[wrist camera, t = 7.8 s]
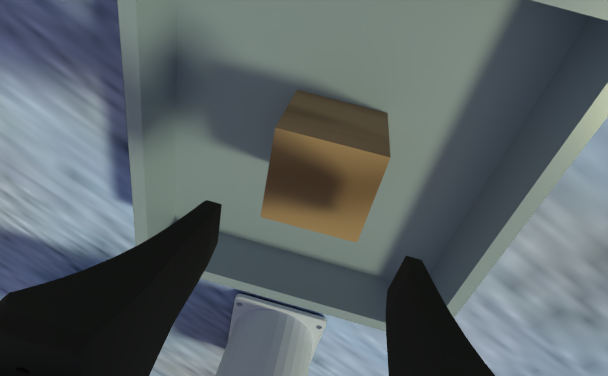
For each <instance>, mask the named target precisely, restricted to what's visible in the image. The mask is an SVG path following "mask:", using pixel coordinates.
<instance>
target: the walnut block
mask: <svg viewBox="0 0 608 376" xmlns="http://www.w3.org/2000/svg"><path fill="white" fill-rule="evenodd" d="M390 158H391V156H390V141H389V126H388V113H385V112H382V111H378V110H374V109H370V108H366V107H362V106H358V105H354V104H350V103H347V102H343V101H339V100H335V99H331V98H327V97H323V96H319V95H315V94H312V93H308V92H304V91H300V90H296V92H295V94H294V96H293V97H292V99H291V101H290V103H289V104H288V106H287V108H286V110H285V111H284V113H283V115H282V117H281V118H280V120H279V122H278V124H277V125H276V127H275V132H274V138H273V144H272V150H271V156H270V162H269V168H268V174H267V180H266V186H265V192H264V197H263V203H262V209H261V215H260V217H262V218H266V219H270V220H274V221H277V222H281V223H285V224H289V225H292V226H296V227H300V228H304V229H307V230H311V231H315V232H318V233H322V234H326V235H330V236H333V237H337V238H341V239H345V240H348V241H352V242H356V243H357V242H358V239H359V237H360V234H361V232H362V229H363V227H364V224H365V222H366V219H367V216H368V214H369V211H370V209H371V206H372V204H373V201H374V199H375V196H376V194H377V191H378V188H379V186H380V183H381V181H382V178H383V176H384V173H385V171H386V168H387V166H388V163H389V160H390Z"/></svg>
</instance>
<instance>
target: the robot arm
mask: <svg viewBox="0 0 608 376" xmlns="http://www.w3.org/2000/svg"><path fill="white" fill-rule="evenodd" d="M221 207H222V204H219V203H216V202H212V201H208V200H205V201H203V202H202V203H201V204H199V205H198V206H197V207H195V208H194V209H193V210H191V211H190V212H189V213H187V214H186V215H185V216H183V217H182V218H180V219H179V220H177V221H176V222H174V223H173V224H172V225H170V226H169V227H167V228H166V229H164V230H163V231H161V232H159V233H158V234H156V235H154V236H153V237H151V238H149V239H148V240H146V241H144V242H143V243H141V244H139V245H137V246H135V247H134V248H132V249H130V250H128V251H126V252H124V253H122V254H120V255H118V256H116V257H114V258H111V259H109V260H107V261H105V262H102V263H100V264H98V265H95V266H93V267H90V268H88V269H85V270H83V271H80V272H77V273H74V274H72V275H69V276H66V277H63V278H60V279H57V280H54V281H50V282H47V283H44V284H40V285H37V286H33V287H29V288H26V289H22V290H19V291H15V292H11V293H9V294H8V295H6V296H5V297H4V298H3V299H2V300H0V376H149V375H150V372H151V370H152V368H153V366H154V364H155V361H156V359H157V357H158V355H159V353H160V351H161V348H162V346H163V344H164V342H165V340H166V338H167V336H168V334H169V332H170V329H171V327H172V325H173V323H174V321H175V320H176V318H177V316H178V314H179V312H180V311H181V309H182V307H183V306H184V304H185V303H186V301H187V299H188V298H189V296H190V294H191V293H192V291H193V289H194V288H195V286H196V284H197V283H198V281H199V279H200V278H201V276H202V274H203V273H204V271H205V269H206V268H207V266H208V264H209V262H210V259H211V257H212V255H213V253H214V250H215V248H216V246H217V244H218V236H219V227H220V217H221ZM385 316H386V336H387V352H388V368H389V376H495V375H494V374H493V373H492V371H491V370H490V369H489V368H488V366H487V365H486V364H485V363H484V361H483V360H482V359H481V357H480V356H479V354H478V353H477V352H476V350H475V349H474V348H473V346H472V345H471V344H470V342H469V341H468V339H467V338H466V336H465V335H464V333H463V332H462V330H461V329H460V327H459V326H458V324H457V323H456V321H455V319H454V318H453V316H452V314H451V313H450V311H449V309H448V308H447V306H446V304H445V302H444V301H443V299H442V297H441V295H440V293H439V292H438V290H437V288H436V286H435V284H434V282H433V280H432V278H431V277H430V275H429V273H428V271H427V269H426V267H425V265H424V263H423V261H422V260H420V259H417V258H413V257H409V256H405V258H404V260H403V262H402V264H401V266H400V268H399V269H398V271H397V273H396V275H395V277H394V279H393V281H392V282H391V284H390V286H389V288H388V290H387V299H386V315H385ZM326 321H327V320H326V319H325V318H324V317H321V316H318V315H314V314H311V313H307V312H304V311H300V310H297V309H293V308H290V307H286V306H283V305H279V304H276V303H272V302H269V301H265V300H262V299H258V298H255V297H251V296H248V295H244V294H237V295H236V297H235V300H234V306H233V312H232V318H231V324H230V330H229V336H228V342H227V346H226V349H225V352H224V354H223V357H222V360H221V362H220V365H219V367H218V370H217V373H216V375H215V376H308V370H309V364H310V361H311V359H312V357H313V354H314V352H315V350H316V347H317V345H318V343H319V340H320V338H321V336H322V333H323V331H324V329H325V326H326Z"/></svg>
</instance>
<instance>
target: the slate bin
mask: <svg viewBox="0 0 608 376" xmlns="http://www.w3.org/2000/svg"><path fill="white" fill-rule="evenodd" d="M117 3H118V16H119V29H120V42H121V55H122V68H123V81H124V95H125V108H126V121H127V134H128V147H129V160H130V173H131V186H132V199H133V212H134V226H135V239H136V246H137V245H139V244H141V243H143V242H144V241H146V240H148V239H149V238H151V237H153V236H154V235H156V234H158V233H159V232H161V231H163V230H164V229H166V228H167V227H169V226H170V225H172V224H173V223H174V222H176V221H177V220H179V219H180V218H182V217H183V216H185V215H186V214H187V213H189V212H190V211H191V210H193V209H194V208H195V207H197V206H198V205H199V204H201V203H202V202H203V201H205V200H208V201H212V202H216V203H219V204H222V207H221V217H220V227H219V236H218V244H217V246H216V248H215V250H214V253H213V255H212V257H211V259H210V262H209V264H208V266H207V268H206V269H205V271H204V273H203V274H202V276H201V279H204V280H208V281H211V282H215V283H218V284H222V285H225V286H229V287H232V288H236V289H239V290H243V291H247V292H250V293H254V294H257V295H261V296H264V297H268V298H271V299H275V300H278V301H282V302H285V303H289V304H292V305H296V306H299V307H303V308H306V309H310V310H313V311H317V312H320V313H324V314H327V315H331V316H334V317H338V318H341V319H345V320H348V321H352V322H355V323H359V324H362V325H366V326H369V327H373V328H376V329H380V330H383V331H386V316H385V315H386V299H387V290H388V288H389V286H390V284H391V282H392V281H393V279H394V277H395V275H396V273H397V271H398V269H399V268H400V266H401V264H402V262H403V260H404V258H405V256H409V257H413V258H417V259H420V260H422V261H423V263H424V265H425V267H426V269H427V271H428V273H429V275H430V277H431V278H432V280H433V282H434V284H435V286H436V288H437V290H438V292H439V293H440V295H441V297H442V299H443V301H444V302H445V304H446V306H447V308H448V309H449V311H450V313H451V314H452V316H453V318H454V317H455V316H456V315H457V313H458V312H459V311H460V309H461V308H462V307H463V305H464V304H465V303H466V301H467V300H468V299H469V298H470V296H471V295H472V294H473V292H474V291H475V290H476V288H477V287H478V286H479V284H480V283H481V282H482V280H483V279H484V278H485V277H486V275H487V274H488V273H489V271H490V270H491V269H492V267H493V266H494V265H495V263H496V262H497V261H498V259H499V258H500V257H501V256H502V254H503V253H504V252H505V250H506V249H507V248H508V246H509V245H510V244H511V242H512V241H513V240H514V238H515V237H516V236H517V234H518V233H519V232H520V231H521V229H522V228H523V227H524V225H525V224H526V223H527V221H528V220H529V219H530V217H531V216H532V215H533V213H534V212H535V211H536V210H537V208H538V207H539V206H540V204H541V203H542V202H543V200H544V199H545V198H546V196H547V195H548V194H549V192H550V191H551V190H552V189H553V187H554V186H555V185H556V183H557V182H558V181H559V179H560V178H561V177H562V175H563V174H564V173H565V171H566V170H567V169H568V167H569V166H570V165H571V164H572V162H573V161H574V160H575V158H576V157H577V156H578V154H579V153H580V152H581V150H582V149H583V148H584V146H585V145H586V144H587V143H588V141H589V140H590V139H591V137H592V136H593V135H594V133H595V132H596V131H597V129H598V128H599V127H600V125H601V124H602V123H603V122H604V120H605V119H606V118H607V116H608V0H117ZM296 90H300V91H304V92H308V93H312V94H315V95H319V96H323V97H327V98H331V99H335V100H339V101H343V102H347V103H350V104H354V105H358V106H362V107H366V108H370V109H374V110H378V111H382V112H385V113H388V126H389V141H390V156H391V158H390V160H389V163H388V166H387V168H386V171H385V173H384V176H383V178H382V181H381V183H380V186H379V188H378V191H377V194H376V196H375V199H374V201H373V204H372V206H371V209H370V211H369V214H368V216H367V219H366V222H365V224H364V227H363V229H362V232H361V234H360V237H359V239H358V242H357V243H356V242H352V241H348V240H345V239H341V238H337V237H333V236H330V235H326V234H322V233H318V232H315V231H311V230H307V229H304V228H300V227H296V226H292V225H289V224H285V223H281V222H277V221H274V220H270V219H266V218H262V217H260V215H261V209H262V203H263V197H264V192H265V186H266V180H267V174H268V168H269V162H270V156H271V150H272V144H273V138H274V132H275V127H276V125H277V124H278V122H279V120H280V118H281V117H282V115H283V113H284V111H285V110H286V108H287V106H288V104H289V103H290V101H291V99H292V97H293V96H294V94H295V92H296Z"/></svg>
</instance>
